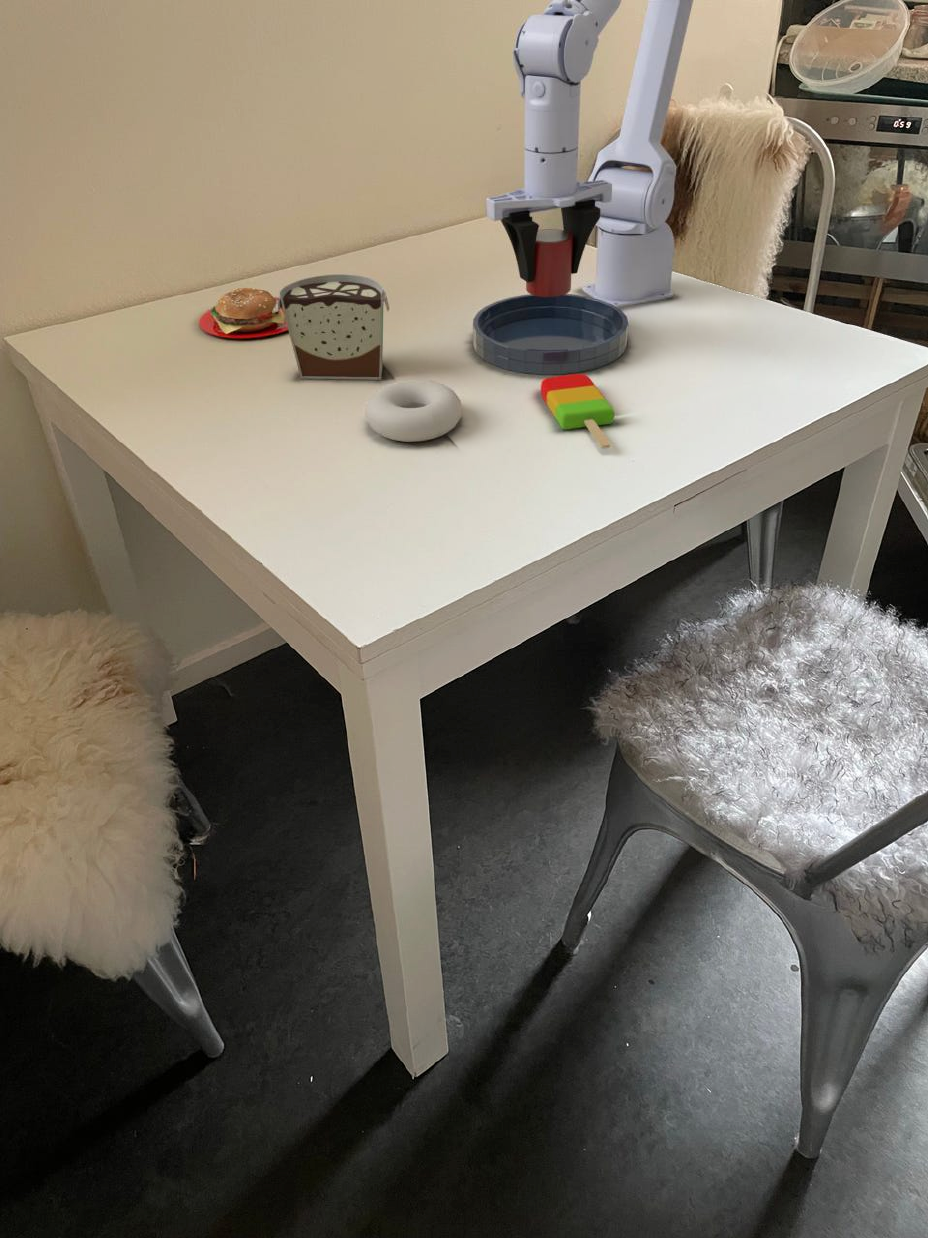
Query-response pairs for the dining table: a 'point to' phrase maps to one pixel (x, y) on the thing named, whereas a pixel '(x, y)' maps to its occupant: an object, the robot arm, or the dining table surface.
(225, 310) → the hamburger
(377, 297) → the food container
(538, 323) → the dark blue round plate
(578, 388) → the popsicle
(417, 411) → the donut
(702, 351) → the dining table surface
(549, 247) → the can
